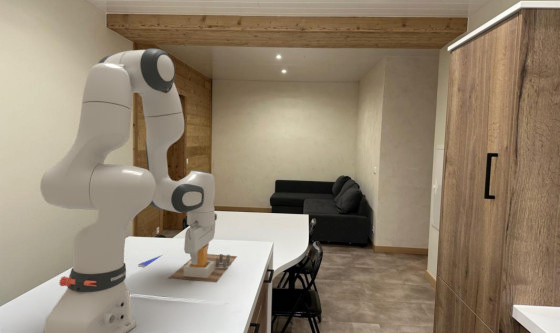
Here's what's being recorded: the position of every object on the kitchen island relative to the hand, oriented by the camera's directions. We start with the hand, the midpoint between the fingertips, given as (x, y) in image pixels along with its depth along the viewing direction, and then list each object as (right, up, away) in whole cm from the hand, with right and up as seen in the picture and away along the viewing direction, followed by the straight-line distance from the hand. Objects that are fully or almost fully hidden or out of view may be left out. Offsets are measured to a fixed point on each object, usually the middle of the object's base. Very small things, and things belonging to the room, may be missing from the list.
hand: (199, 259), depth 124 cm
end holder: (0, -5, 0) cm, 5 cm away
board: (+1, -5, +7) cm, 9 cm away
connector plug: (0, -5, 0) cm, 5 cm away
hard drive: (-18, -5, +12) cm, 22 cm away
